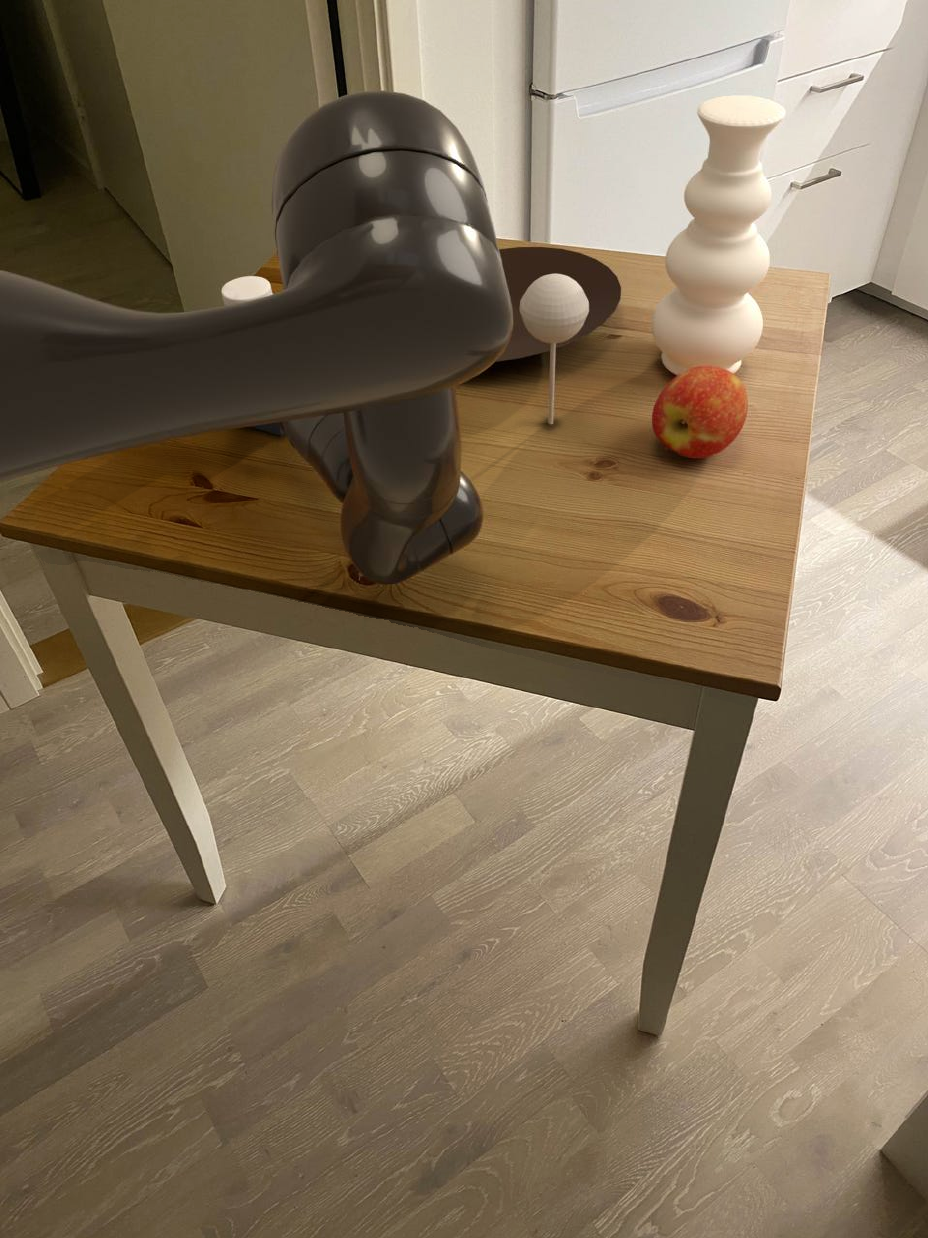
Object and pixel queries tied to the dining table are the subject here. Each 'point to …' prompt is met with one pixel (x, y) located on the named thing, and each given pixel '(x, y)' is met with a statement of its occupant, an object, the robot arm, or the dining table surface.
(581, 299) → the lollipop
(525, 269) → the plate
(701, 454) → the apple
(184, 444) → the dining table surface
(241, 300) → the pill bottle
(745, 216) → the vase
